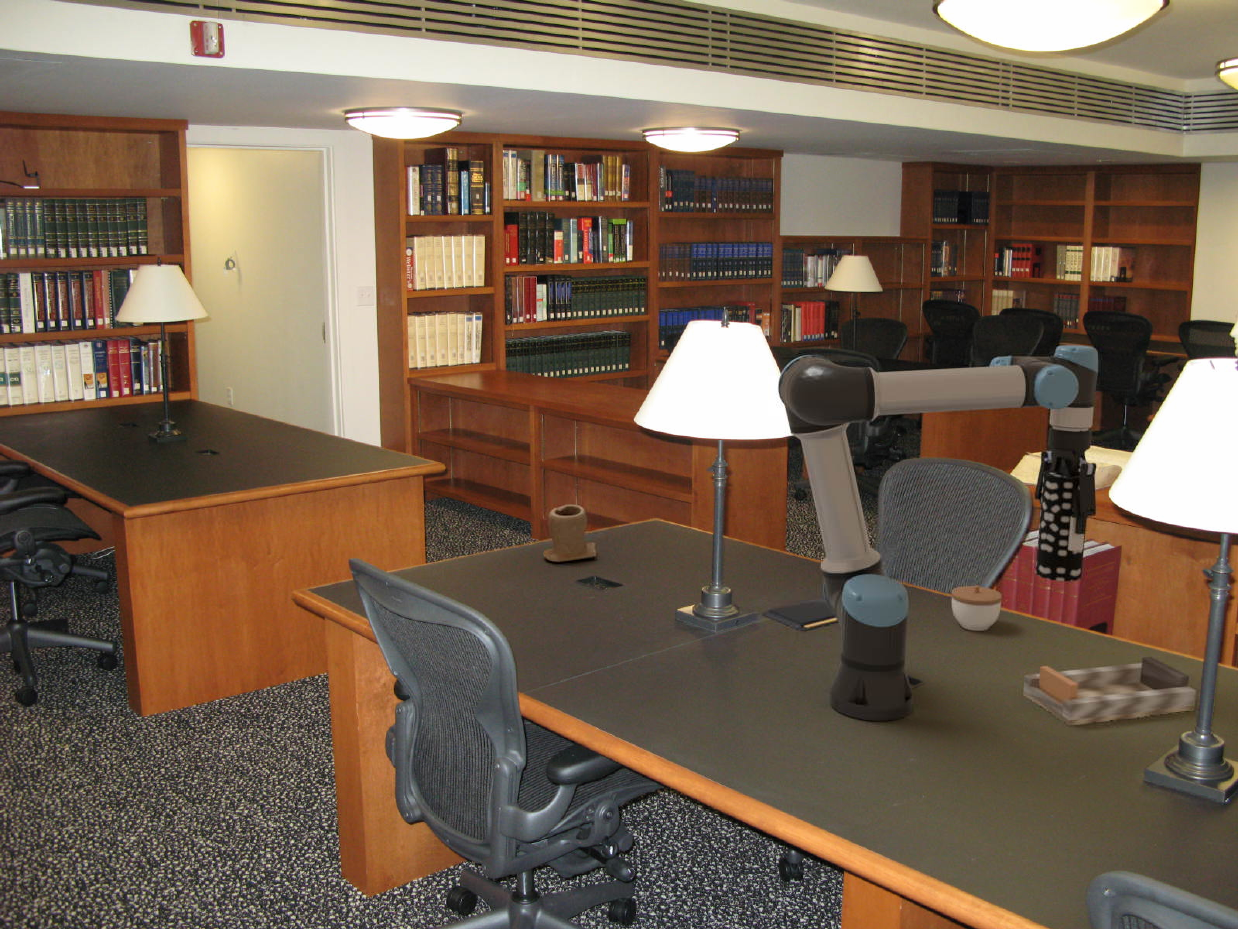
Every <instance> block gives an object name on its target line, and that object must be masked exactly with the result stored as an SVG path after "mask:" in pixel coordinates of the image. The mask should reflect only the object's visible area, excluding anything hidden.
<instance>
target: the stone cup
mask: <svg viewBox="0 0 1238 929" xmlns="http://www.w3.org/2000/svg"><path fill="white" fill-rule="evenodd" d="M586 513H587V512H586V510H585V509H584V508H583V507H582V506H581V505H577V504H564V505H562V506H559V507H555V508H553V509H552V510H551V511H550V512H549V513H548V514H549V515H548V521H547V522H548V523H547V525H548V530H549V535H550V537H551V540H552V544H553V547H552V548H547V549H545V550H544V551H543V557H544V558H545V559H547V560H548V561H551V562H556V563H557V562H558V563H559V562H569V561H576V560H582V559H589V558H594V557H595V558H596V556H597V551H596V547H595V546H596V543H595V542H592V541H591V542H585V541H584V540H585V536H586V535H585V534H586V530H587V524H588V517H587V514H586Z"/></svg>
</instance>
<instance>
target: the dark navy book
mask: <svg viewBox="0 0 1238 929" xmlns="http://www.w3.org/2000/svg"><path fill="white" fill-rule="evenodd" d="M761 615H762V616H763V617H765V618H767V619H770V620H772V621H775V622H778V623H780V624H782V623H783V624H782V625H785V626H787V627H789V626H792V627H793V628H792V627H791V628H792V629H794V628H795V630H797V631H799V630H800V631H799V632H801V631H802V633H804V632H803V631H805V632H808V631H807V630H809V631H811V630H812V631H814V630H816V629H820V628H822V627H821V626H824V627H827V626H831V625H830V624H832V625H835V624H834V623H836V624H839V623H838V621H837V619H836V617H835V616H834V614H833V613H832V612H831V610H830V609H829V608H828V606H827V604H826V601H825V598H824V597H823V598H822V597H817V598H812V599H809V600H808V599H807V600H805V601H800V602H795V603H792V604H787V605H783V606H779V607H775V608H771V609H768V610H766V611H764V612H761ZM819 627H820V628H819Z"/></svg>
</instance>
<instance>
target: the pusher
mask: <svg viewBox="0 0 1238 929" xmlns="http://www.w3.org/2000/svg"><path fill="white" fill-rule="evenodd" d="M1058 672H1059V671H1057V670H1055V669H1053V668H1052V667H1050V666H1048V665H1043V666H1040V667H1039V674H1040V676H1039V689H1040V690H1042V691H1043V692H1045V693H1046V694H1048V695H1049V696H1051V697H1053V698H1054V699H1056V700H1057V701H1059V702H1060V703H1062V704H1064V700H1070V699H1077V693H1078V684H1076V683H1075V682H1073V681H1071V680H1070V679H1068V678H1066V677H1065V676H1063V675H1061V674H1060V673H1058Z"/></svg>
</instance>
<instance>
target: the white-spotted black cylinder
mask: <svg viewBox="0 0 1238 929" xmlns="http://www.w3.org/2000/svg"><path fill="white" fill-rule="evenodd" d="M1075 477H1079V476H1075ZM1073 489H1075V490H1079V491H1080V483H1079V478H1067V477H1065V475H1062V474H1059V473H1057V472H1055V473H1052V472H1049V471H1045V472H1044V475H1043V488H1042V492H1041V493H1042V500H1041V504H1040V511H1039V512H1040V514H1039V527H1038V540H1037V552H1036V564H1035V574H1036V575H1037V576H1038V577H1039V578H1040V577H1041V578H1042V579H1047V580H1050V581H1057V582H1074V581H1075V582H1076V581H1079V580H1081V579H1082V575H1083V574H1082V573H1083V565H1084V564H1083V562H1084V552H1085V541H1086V533H1085V534H1084V543H1083V550H1073V551H1070V550H1068V543H1069V531H1070V520H1071V515H1073V514H1074V511H1073V506H1072V499H1073Z"/></svg>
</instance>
